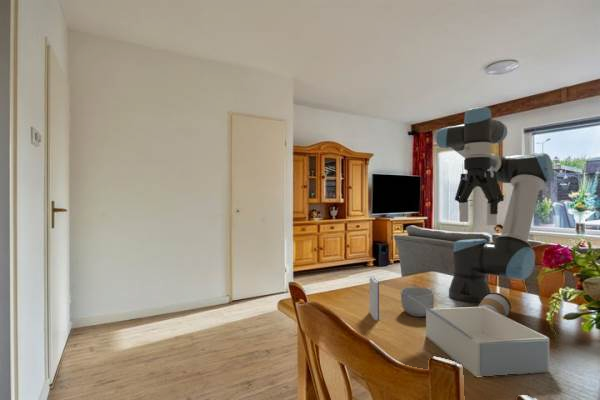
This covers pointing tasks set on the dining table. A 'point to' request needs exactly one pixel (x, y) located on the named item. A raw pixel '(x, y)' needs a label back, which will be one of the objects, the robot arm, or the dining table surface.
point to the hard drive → (374, 298)
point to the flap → (440, 317)
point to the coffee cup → (496, 303)
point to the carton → (488, 341)
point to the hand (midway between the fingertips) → (476, 223)
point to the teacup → (420, 295)
